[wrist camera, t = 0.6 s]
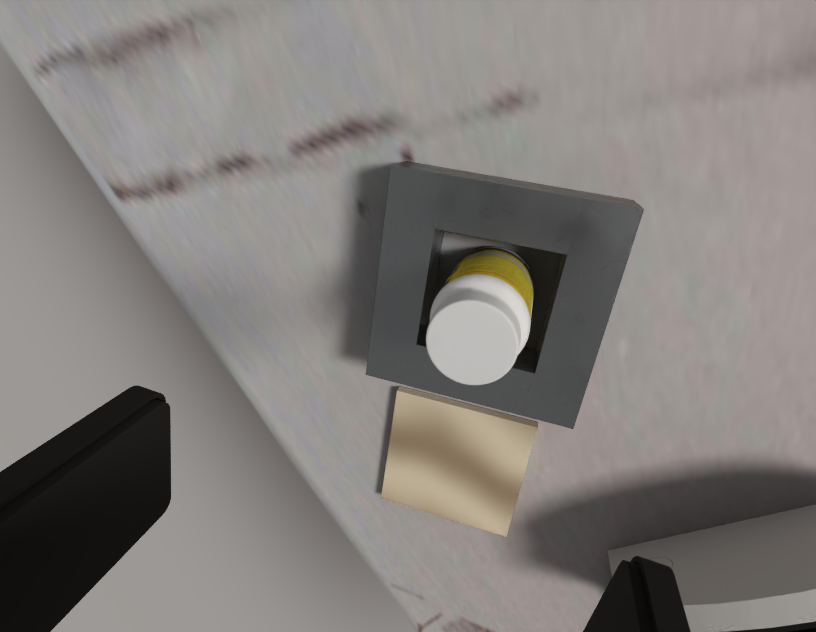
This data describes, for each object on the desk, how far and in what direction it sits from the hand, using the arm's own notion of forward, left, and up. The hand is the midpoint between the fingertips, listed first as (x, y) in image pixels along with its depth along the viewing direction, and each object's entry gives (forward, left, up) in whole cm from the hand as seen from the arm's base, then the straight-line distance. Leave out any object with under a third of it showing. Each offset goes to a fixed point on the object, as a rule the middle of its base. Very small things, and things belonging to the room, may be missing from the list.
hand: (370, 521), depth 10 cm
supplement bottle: (-1, -1, -20) cm, 20 cm away
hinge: (-13, -19, -21) cm, 31 cm away
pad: (-14, -1, -20) cm, 24 cm away
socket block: (-1, -1, -20) cm, 20 cm away
